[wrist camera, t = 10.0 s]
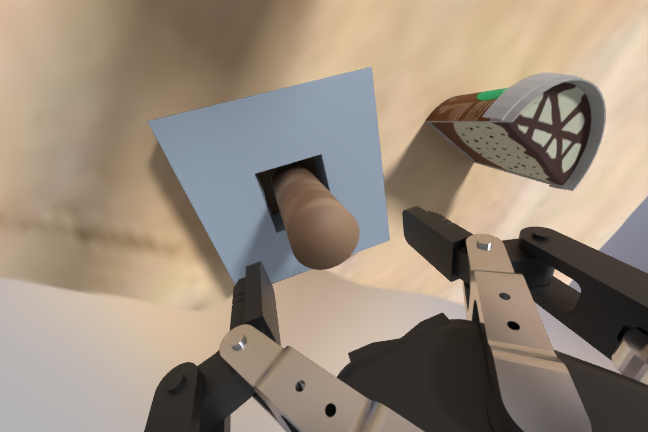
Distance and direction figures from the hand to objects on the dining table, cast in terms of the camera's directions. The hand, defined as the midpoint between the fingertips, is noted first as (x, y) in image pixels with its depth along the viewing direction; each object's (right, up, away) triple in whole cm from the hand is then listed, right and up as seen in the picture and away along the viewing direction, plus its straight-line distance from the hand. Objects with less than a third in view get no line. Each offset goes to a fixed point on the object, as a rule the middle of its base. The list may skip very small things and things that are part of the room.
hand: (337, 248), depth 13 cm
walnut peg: (-4, +5, +11) cm, 13 cm away
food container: (+15, +13, +14) cm, 24 cm away
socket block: (-4, +5, +11) cm, 13 cm away
